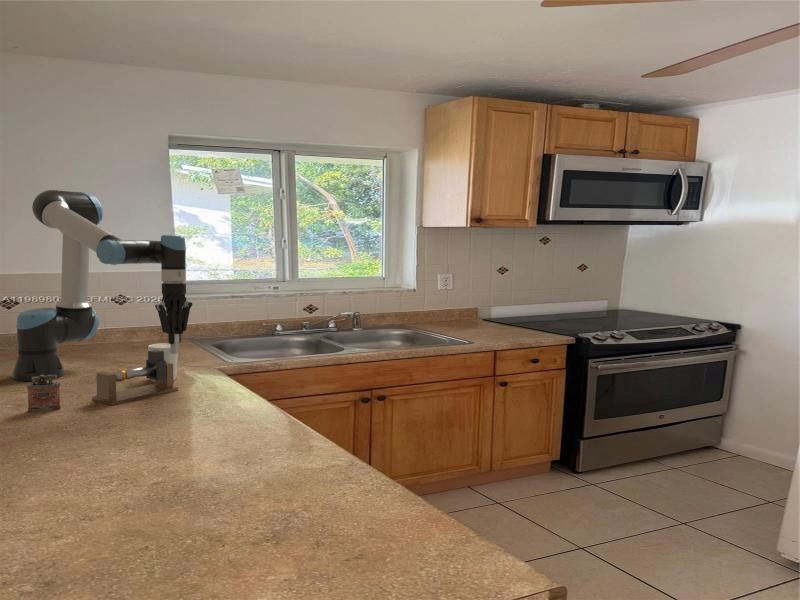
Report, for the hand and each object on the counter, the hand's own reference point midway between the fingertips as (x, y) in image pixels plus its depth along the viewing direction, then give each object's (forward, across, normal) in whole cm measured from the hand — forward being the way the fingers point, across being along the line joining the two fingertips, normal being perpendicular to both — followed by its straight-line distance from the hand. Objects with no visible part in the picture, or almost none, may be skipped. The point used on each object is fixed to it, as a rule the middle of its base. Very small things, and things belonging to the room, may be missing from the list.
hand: (174, 353), depth 200 cm
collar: (+7, -7, 0) cm, 10 cm away
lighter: (+11, -39, +6) cm, 41 cm away
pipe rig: (+11, -14, 0) cm, 18 cm away
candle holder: (+11, +4, +12) cm, 17 cm away
